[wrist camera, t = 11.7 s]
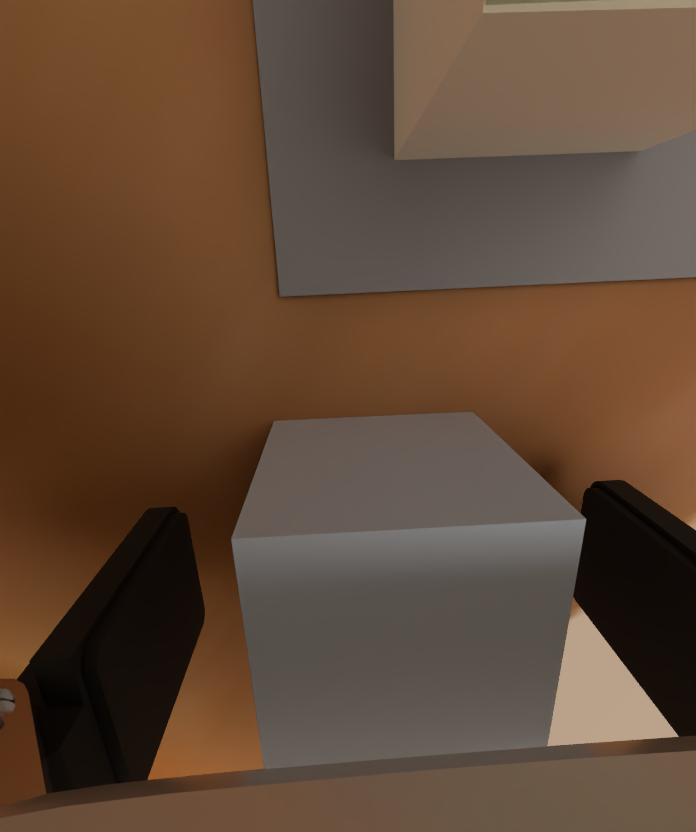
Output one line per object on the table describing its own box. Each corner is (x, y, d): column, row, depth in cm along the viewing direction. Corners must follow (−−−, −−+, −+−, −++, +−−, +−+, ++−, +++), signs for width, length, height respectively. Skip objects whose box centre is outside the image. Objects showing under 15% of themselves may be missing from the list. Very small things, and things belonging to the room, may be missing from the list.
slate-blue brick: (290, 582, 12) (266, 780, 7) (274, 419, 11) (231, 538, 6) (461, 572, 12) (544, 759, 8) (471, 410, 11) (586, 518, 6)
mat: (281, 295, 9) (279, 296, 9) (217, -408, 6) (211, -452, 6) (713, 275, 10) (728, 275, 9) (867, -404, 7) (902, -447, 6)
